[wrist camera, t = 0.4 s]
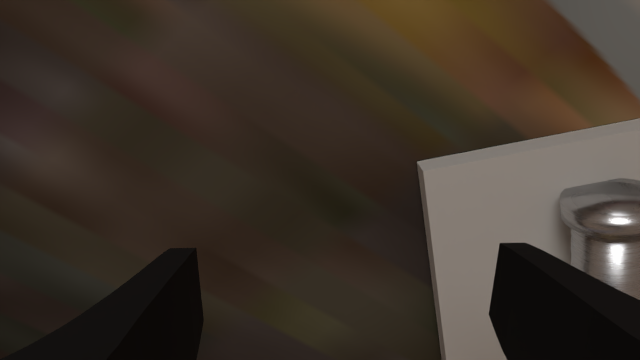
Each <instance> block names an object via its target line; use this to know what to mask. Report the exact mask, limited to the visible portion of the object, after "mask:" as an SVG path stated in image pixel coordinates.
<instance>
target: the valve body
mask: <svg viewBox="0 0 640 360" xmlns="http://www.w3.org/2000/svg"><path fill="white" fill-rule="evenodd" d="M560 217H561V220H562V221H563V222H564V223H565V225H567V226H568V227H569V228H571V265H572V266H574V267H576V268H577V269H579V270H581V271H583V272H585V273H587V274H589V275H591V276H593V277H594V278H596V279H598V280H600V281H602V282H604V283H606V284H608V285H610V286H612V287H614V288H616V289H618V290H620V291H622V292H624V293H626V294H628V295H630V296H632V297H634V298H637V299H639V300H640V181H639V180H634V179H626V178H618V179H612V180H607V181H602V182H596V183H591V184H586V185H581V186H575V187H570V188H565V189H564V190H563V191H562V192H561V194H560Z"/></svg>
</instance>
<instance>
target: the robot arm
mask: <svg viewBox="0 0 640 360" xmlns="http://www.w3.org/2000/svg"><path fill="white" fill-rule="evenodd" d="M489 317H490V320H491V322H492V325H493V328H494V331H495V333H496V336H497V338H498V341H499V343H500V346H501V348H502V351H503V353H504V355H505V357H506V359H507V360H640V300H639V299H637V298H634V297H632V296H630V295H628V294H626V293H624V292H622V291H620V290H618V289H616V288H614V287H612V286H610V285H608V284H606V283H604V282H602V281H600V280H598V279H596V278H594V277H593V276H591V275H589V274H587V273H585V272H583V271H581V270H579V269H577V268H576V267H574V266H572V265H570V264H568V263H566V262H564V261H562V260H561V259H559V258H557V257H555V256H553V255H551V254H549V253H547V252H545V251H543V250H541V249H539V248H537V247H535V246H532V245H530V244H527V243H500V244H499V250H498V257H497V263H496V270H495V276H494V283H493V289H492V296H491V302H490V309H489ZM203 321H204V319H203V310H202V300H201V290H200V281H199V271H198V261H197V252H196V248H170V249H168V250H167V251H165V252H164V253H163V254H161V255H160V256H159V257H157V258H156V259H155V260H154V261H152V262H151V263H150V264H149V265H147V266H146V267H145V268H144V269H142V270H141V271H140V272H139V273H137V274H136V275H135V276H133V277H132V278H131V279H130V280H128V281H127V282H126V283H124V284H123V285H122V286H120V287H119V288H118V289H117V290H115V291H114V292H112V293H111V294H110V295H108V296H107V297H105V298H104V299H102V300H101V301H100V302H98V303H97V304H95V305H94V306H92V307H91V308H90V309H88V310H87V311H85V312H84V313H82V314H81V315H79V316H78V317H76V318H75V319H73V320H72V321H70V322H68V323H67V324H65V325H64V326H62V327H60V328H59V329H57V330H55V331H53V332H52V333H50V334H48V335H46V336H45V337H43V338H41V339H40V340H38V341H36V342H34V343H32V344H30V345H29V346H27V347H25V348H23V349H21V350H19V351H17V352H15V353H12V354H10V355H8V356H6V357H4V358H2V359H0V360H196V359H197V354H198V349H199V344H200V338H201V332H202V327H203Z"/></svg>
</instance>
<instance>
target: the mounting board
mask: <svg viewBox="0 0 640 360" xmlns="http://www.w3.org/2000/svg"><path fill="white" fill-rule="evenodd" d="M417 167H418V175H419V183H420V191H421V199H422V207H423V215H424V223H425V231H426V239H427V247H428V255H429V262H430V270H431V278H432V286H433V294H434V302H435V310H436V318H437V326H438V334H439V342H440V350H441V358H442V360H507V359H506V357H505V355H504V353H503V351H502V348H501V346H500V343H499V341H498V338H497V336H496V333H495V331H494V328H493V325H492V322H491V320H490V317H489V309H490V302H491V296H492V289H493V283H494V276H495V270H496V263H497V257H498V250H499V244H500V243H527V244H530V245H532V246H535V247H537V248H539V249H541V250H543V251H545V252H547V253H549V254H551V255H553V256H555V257H557V258H559V259H561V260H562V261H564V262H566V263H568V264H570V265H571V228H569V227H568V226H567V225H565V223H564V222H563V221H562V220H561V217H560V194H561V192H562V191H563V190H564V189H565V188H570V187H575V186H581V185H586V184H591V183H596V182H602V181H607V180H612V179H618V178H626V179H634V180H639V181H640V119H634V120H629V121H624V122H619V123H614V124H609V125H603V126H598V127H593V128H588V129H583V130H578V131H572V132H567V133H562V134H557V135H552V136H547V137H541V138H536V139H531V140H526V141H521V142H516V143H510V144H505V145H500V146H495V147H490V148H485V149H479V150H474V151H469V152H464V153H459V154H454V155H448V156H443V157H438V158H433V159H428V160H423V161H417Z"/></svg>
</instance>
